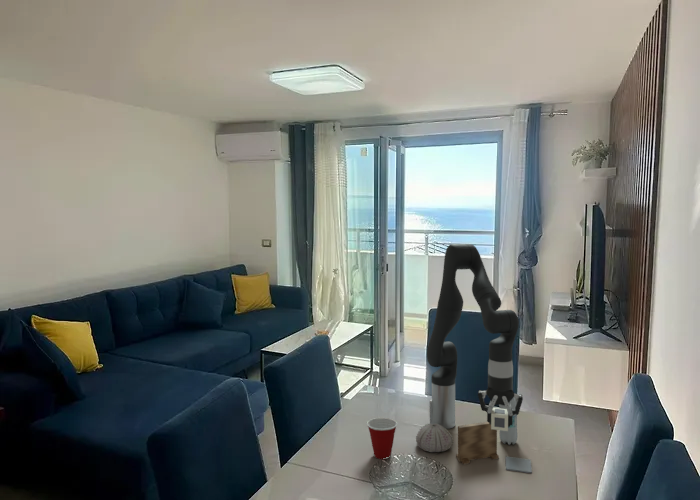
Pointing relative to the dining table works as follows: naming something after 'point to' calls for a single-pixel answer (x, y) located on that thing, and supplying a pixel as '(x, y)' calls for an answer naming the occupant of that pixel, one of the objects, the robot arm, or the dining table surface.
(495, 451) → the walnut screen
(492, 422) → the white marker cube
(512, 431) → the bottle
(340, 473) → the dining table surface
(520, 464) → the slate coaster
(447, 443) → the sea urchin shell
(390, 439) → the plastic cup
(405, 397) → the dining table surface
